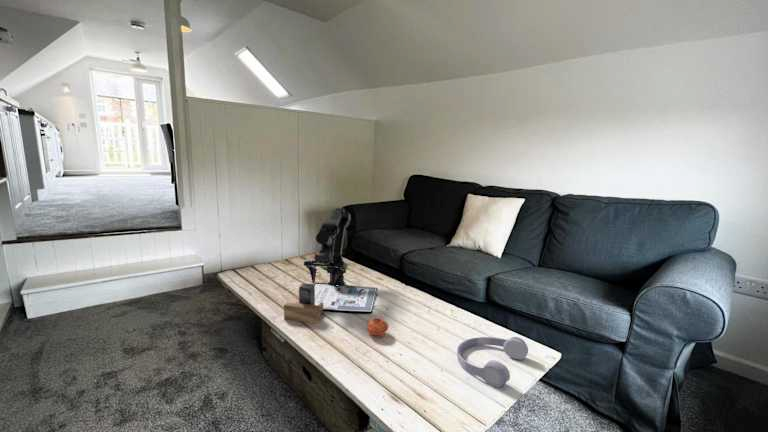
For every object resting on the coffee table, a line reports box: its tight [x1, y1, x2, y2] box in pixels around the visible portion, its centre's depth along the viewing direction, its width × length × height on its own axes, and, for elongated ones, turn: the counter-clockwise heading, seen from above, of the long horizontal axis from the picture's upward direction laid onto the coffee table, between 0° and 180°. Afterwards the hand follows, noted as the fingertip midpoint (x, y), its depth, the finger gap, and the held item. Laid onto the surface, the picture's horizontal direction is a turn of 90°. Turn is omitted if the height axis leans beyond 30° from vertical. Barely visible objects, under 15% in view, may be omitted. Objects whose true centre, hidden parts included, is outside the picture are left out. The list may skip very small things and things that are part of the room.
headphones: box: [456, 336, 529, 388], centre depth 112 cm, size 22×7×20 cm
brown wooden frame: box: [283, 301, 324, 324], centre depth 141 cm, size 11×14×6 cm
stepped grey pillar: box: [298, 283, 316, 305], centre depth 141 cm, size 5×5×12 cm
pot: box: [366, 317, 389, 339], centre depth 127 cm, size 8×8×7 cm
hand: (323, 283), depth 151 cm, fingers open, 9 cm apart
